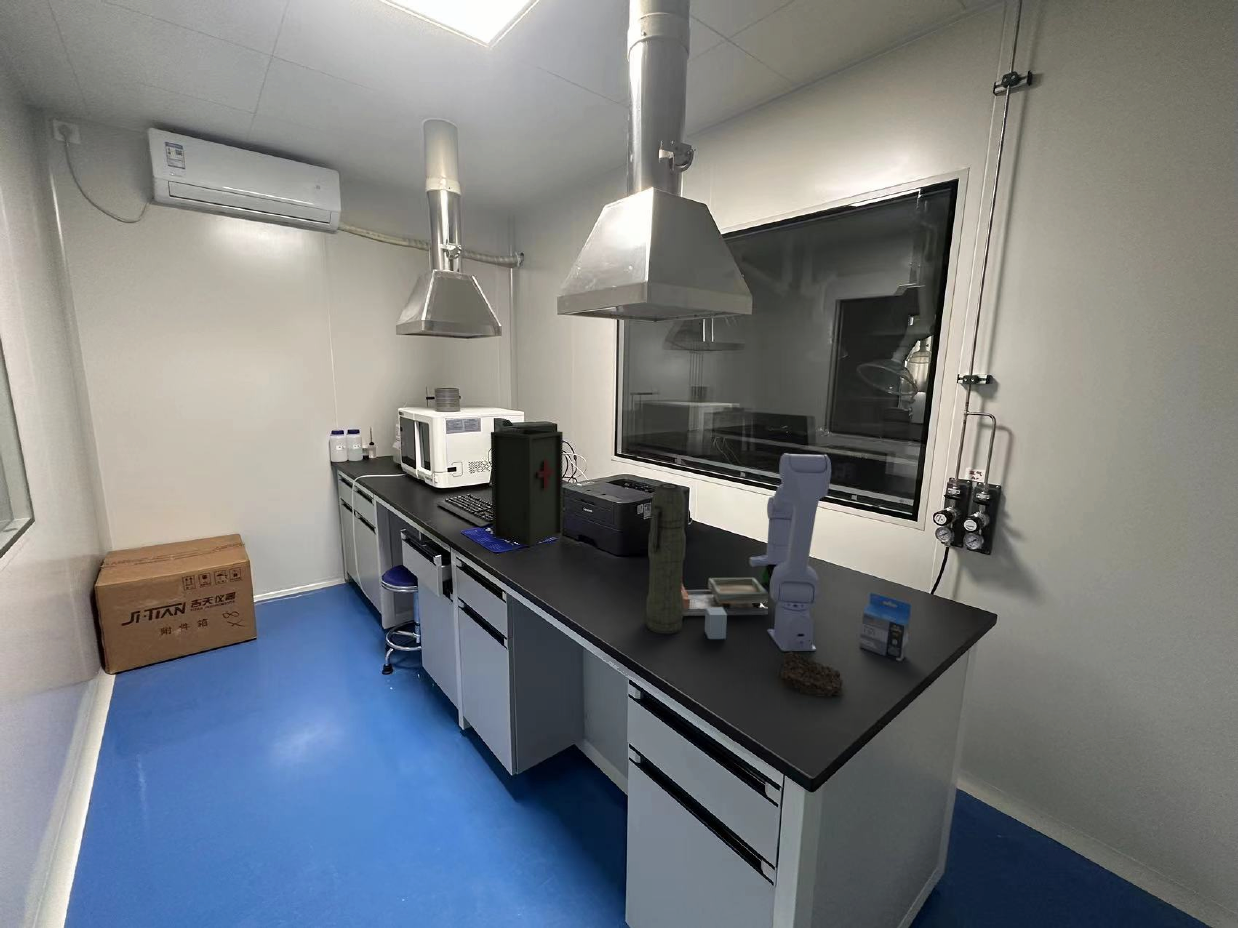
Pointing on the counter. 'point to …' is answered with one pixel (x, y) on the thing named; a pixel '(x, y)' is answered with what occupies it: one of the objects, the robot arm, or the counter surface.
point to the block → (715, 623)
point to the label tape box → (886, 627)
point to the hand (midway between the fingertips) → (775, 590)
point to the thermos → (666, 559)
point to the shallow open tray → (737, 591)
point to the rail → (715, 604)
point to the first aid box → (526, 485)
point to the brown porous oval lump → (810, 676)
